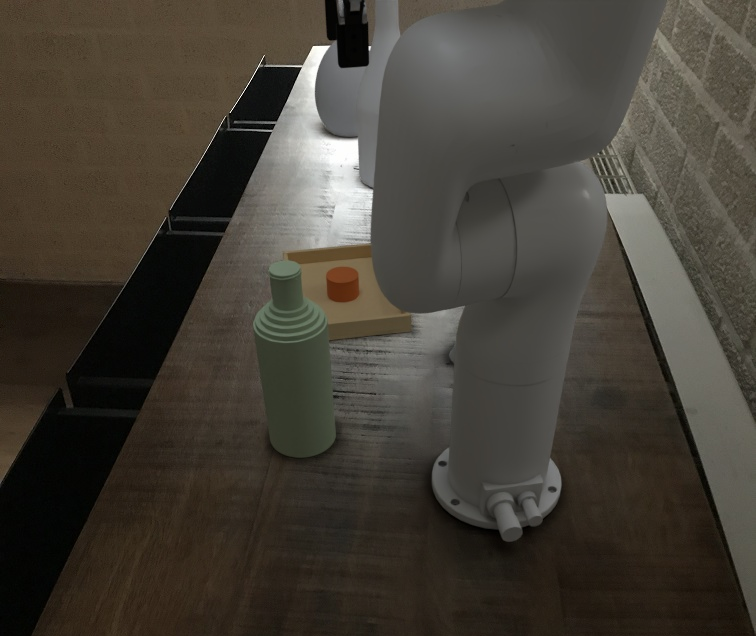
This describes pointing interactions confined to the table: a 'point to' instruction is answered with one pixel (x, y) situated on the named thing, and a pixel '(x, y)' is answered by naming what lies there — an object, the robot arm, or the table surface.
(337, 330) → the tray
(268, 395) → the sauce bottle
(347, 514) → the table surface
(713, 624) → the table surface
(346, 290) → the cap
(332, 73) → the decorative egg
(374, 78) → the wine bottle
